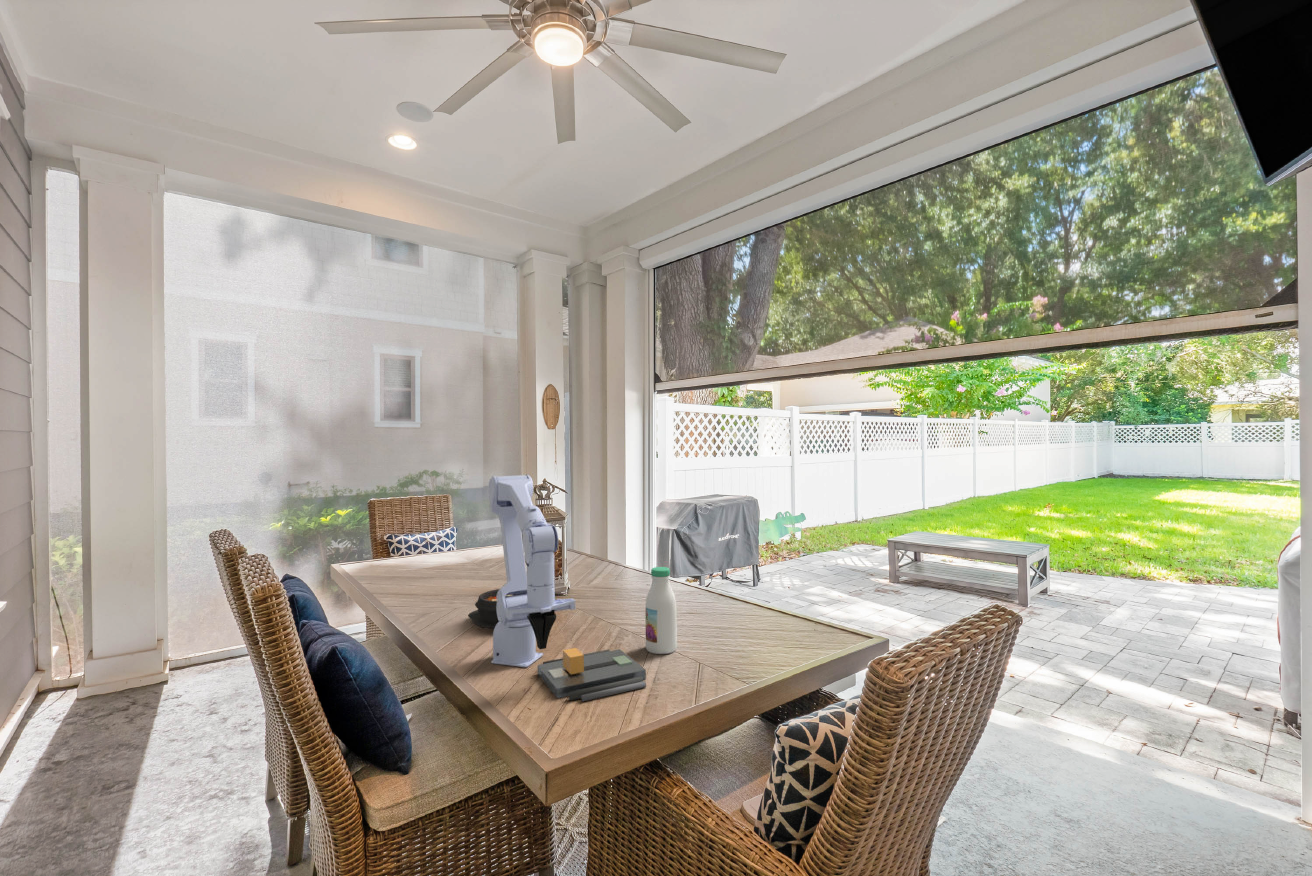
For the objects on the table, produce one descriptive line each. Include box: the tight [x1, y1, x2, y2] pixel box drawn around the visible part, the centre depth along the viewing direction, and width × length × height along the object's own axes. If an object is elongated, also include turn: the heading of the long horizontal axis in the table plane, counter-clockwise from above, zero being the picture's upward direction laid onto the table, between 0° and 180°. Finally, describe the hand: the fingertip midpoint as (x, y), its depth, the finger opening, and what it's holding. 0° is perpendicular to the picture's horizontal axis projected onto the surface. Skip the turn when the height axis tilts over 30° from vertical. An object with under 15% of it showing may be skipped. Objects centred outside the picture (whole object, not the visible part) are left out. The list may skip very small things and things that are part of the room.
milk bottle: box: [644, 566, 678, 655], centre depth 147 cm, size 8×8×20 cm
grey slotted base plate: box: [542, 649, 647, 703], centre depth 130 cm, size 16×21×2 cm
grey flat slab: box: [537, 648, 647, 700], centre depth 131 cm, size 20×14×2 cm
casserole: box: [467, 588, 526, 630], centre depth 168 cm, size 25×19×8 cm
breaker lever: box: [562, 647, 584, 674], centre depth 129 cm, size 3×5×4 cm, turn 27°
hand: (541, 647), depth 126 cm, fingers closed
